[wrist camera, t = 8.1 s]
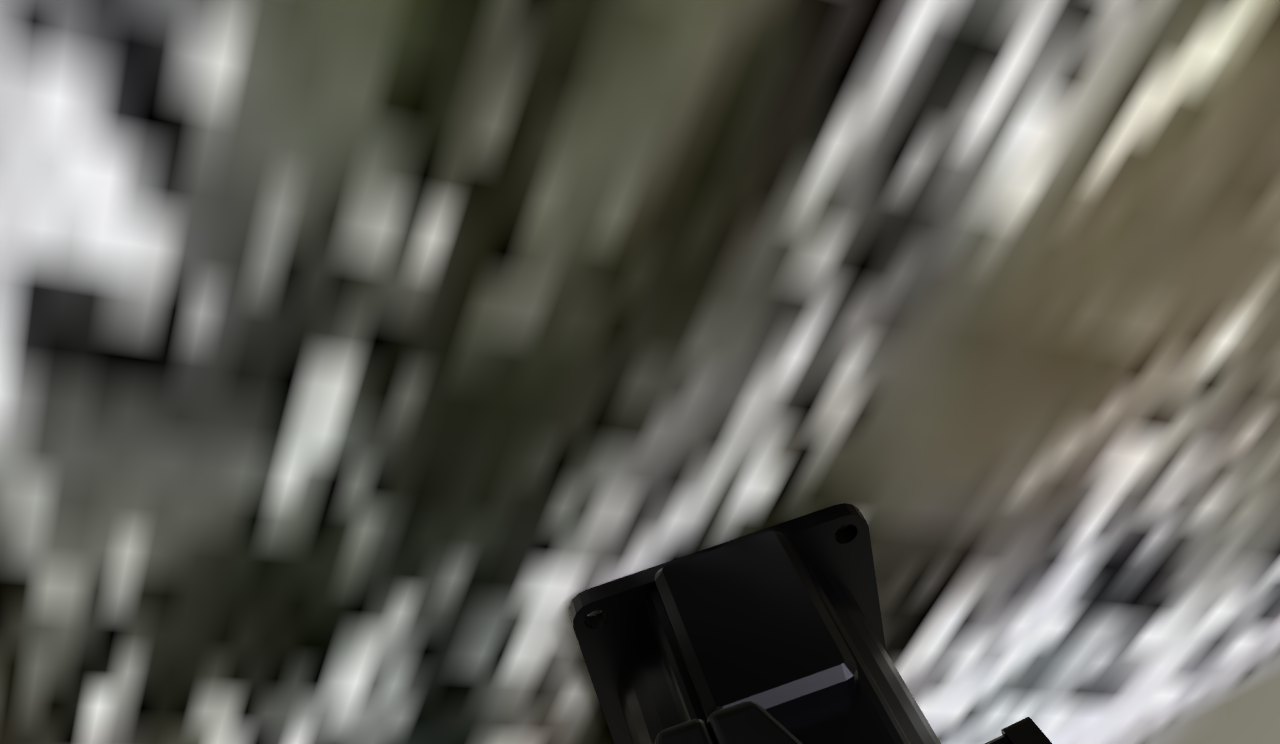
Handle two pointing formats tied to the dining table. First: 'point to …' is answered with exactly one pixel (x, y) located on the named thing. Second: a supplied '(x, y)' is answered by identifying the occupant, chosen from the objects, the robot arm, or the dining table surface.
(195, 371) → the dining table surface
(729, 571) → the robot arm
